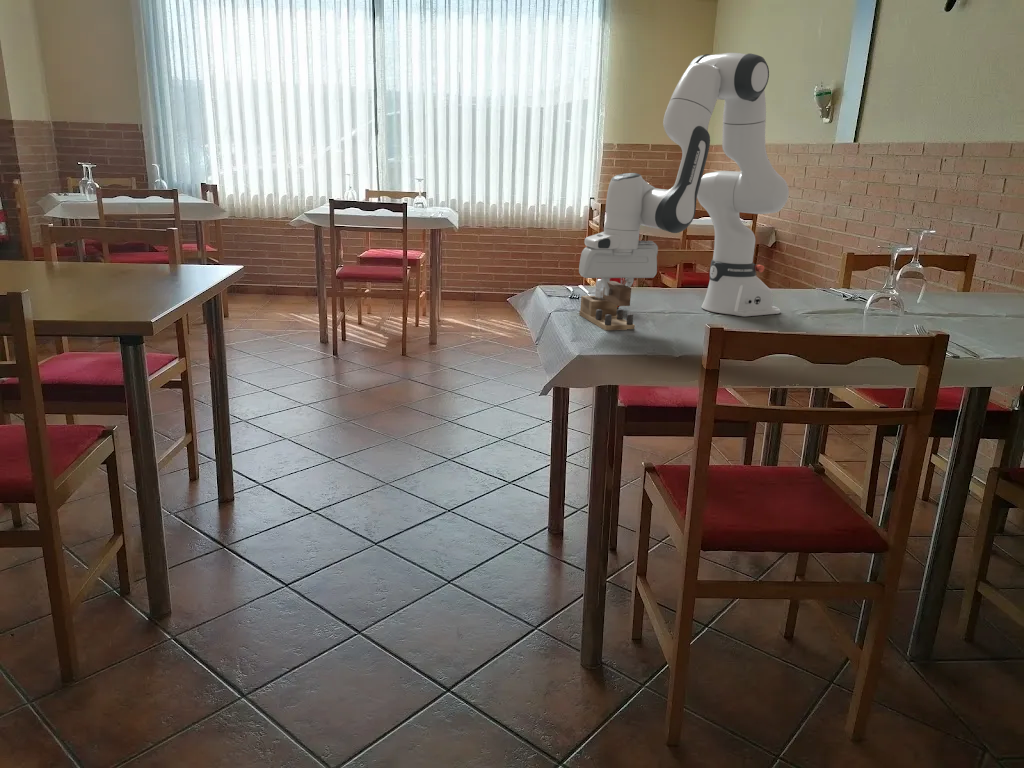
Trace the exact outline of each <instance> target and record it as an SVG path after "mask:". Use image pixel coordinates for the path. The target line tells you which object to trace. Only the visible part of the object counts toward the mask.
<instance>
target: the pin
mask: <svg viewBox="0 0 1024 768" xmlns="http://www.w3.org/2000/svg"><path fill="white" fill-rule="evenodd" d="M603 291H604V286H603V284H602V282H601V279H598V278H596V283H595V292H594V296H595V300H605V299H603Z"/></svg>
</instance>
